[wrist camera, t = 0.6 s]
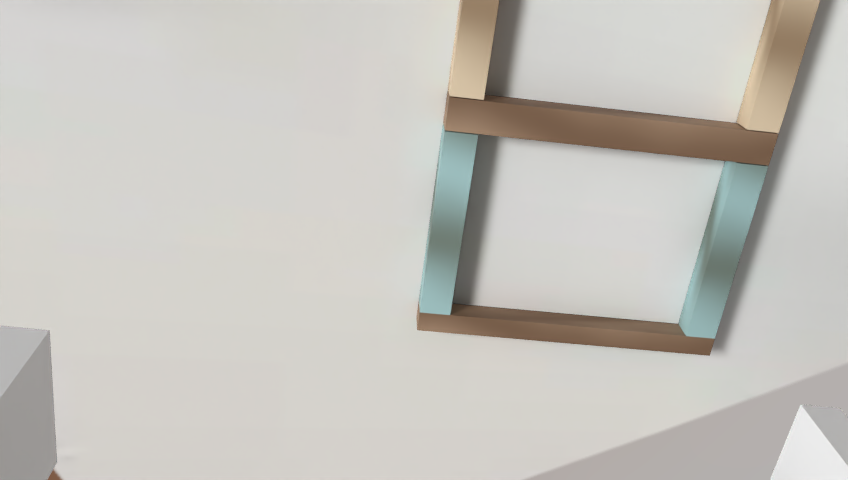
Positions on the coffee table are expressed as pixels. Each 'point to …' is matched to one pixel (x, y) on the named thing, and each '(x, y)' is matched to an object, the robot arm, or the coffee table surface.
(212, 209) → the coffee table surface
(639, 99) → the coffee table surface
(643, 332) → the two-pane wooden frame
